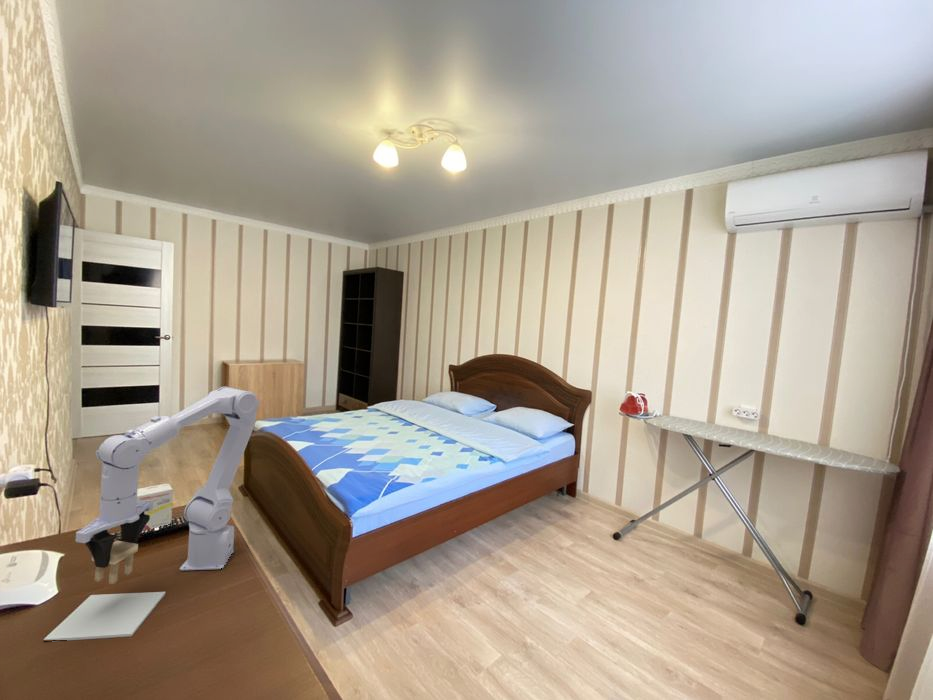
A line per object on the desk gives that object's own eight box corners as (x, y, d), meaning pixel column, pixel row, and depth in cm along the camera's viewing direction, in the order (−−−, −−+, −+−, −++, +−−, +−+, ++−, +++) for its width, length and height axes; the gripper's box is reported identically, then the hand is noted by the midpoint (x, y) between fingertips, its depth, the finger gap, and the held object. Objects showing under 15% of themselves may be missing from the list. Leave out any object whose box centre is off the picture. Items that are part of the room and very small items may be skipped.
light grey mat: (165, 593, 86) (165, 591, 86) (131, 636, 75) (131, 633, 75) (90, 597, 83) (91, 595, 83) (43, 642, 72) (43, 639, 72)
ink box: (133, 538, 105) (135, 496, 104) (128, 531, 108) (131, 490, 108) (171, 528, 112) (174, 488, 111) (166, 521, 115) (169, 482, 114)
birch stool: (115, 567, 84) (117, 540, 84) (136, 571, 83) (138, 543, 83) (90, 582, 79) (92, 552, 79) (112, 586, 78) (114, 556, 78)
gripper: (101, 513, 73) (97, 583, 73) (167, 483, 87) (163, 542, 88) (66, 507, 73) (63, 577, 74) (138, 479, 88) (134, 538, 88)
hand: (115, 558), depth 81 cm, fingers closed on birch stool, 5 cm apart
